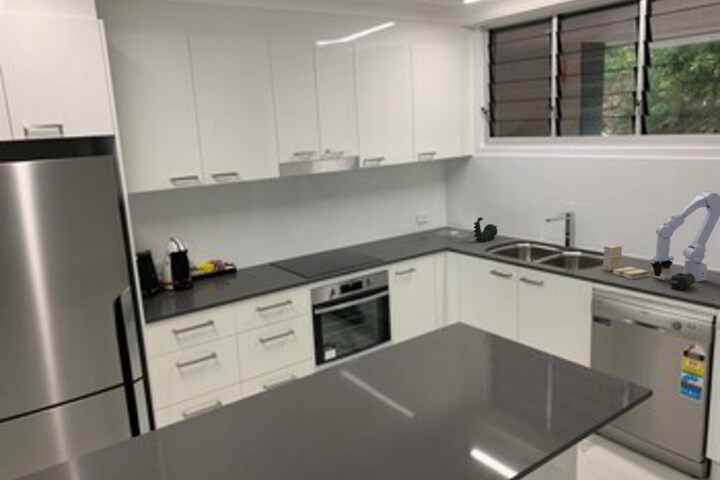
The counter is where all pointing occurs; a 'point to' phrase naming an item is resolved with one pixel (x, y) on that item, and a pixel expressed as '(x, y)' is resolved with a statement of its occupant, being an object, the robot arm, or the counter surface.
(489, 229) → the toy figurine
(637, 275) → the stand
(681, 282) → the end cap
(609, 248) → the supplement box
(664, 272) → the block
